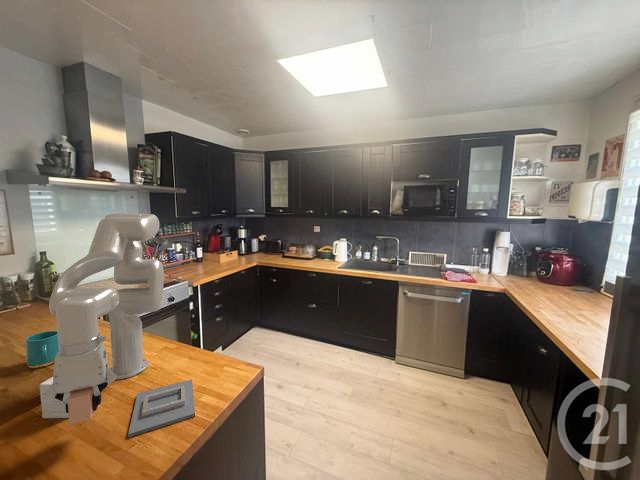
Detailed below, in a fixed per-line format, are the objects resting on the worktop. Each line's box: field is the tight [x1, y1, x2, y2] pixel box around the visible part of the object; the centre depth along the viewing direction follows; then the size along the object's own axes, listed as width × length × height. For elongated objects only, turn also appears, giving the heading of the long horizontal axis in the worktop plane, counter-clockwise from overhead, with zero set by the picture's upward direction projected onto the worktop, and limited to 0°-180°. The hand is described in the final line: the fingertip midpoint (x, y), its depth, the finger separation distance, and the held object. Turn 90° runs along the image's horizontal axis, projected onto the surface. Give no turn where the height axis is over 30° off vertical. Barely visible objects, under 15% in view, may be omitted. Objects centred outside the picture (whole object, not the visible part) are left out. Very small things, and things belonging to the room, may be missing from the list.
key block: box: [68, 387, 95, 426], centre depth 67 cm, size 7×4×7 cm, turn 29°
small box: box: [39, 376, 69, 419], centre depth 76 cm, size 8×6×10 cm
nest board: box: [127, 378, 196, 439], centre depth 79 cm, size 18×16×2 cm
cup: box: [25, 330, 59, 367], centre depth 99 cm, size 9×12×11 cm
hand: (84, 409), depth 67 cm, fingers closed on key block, 4 cm apart
